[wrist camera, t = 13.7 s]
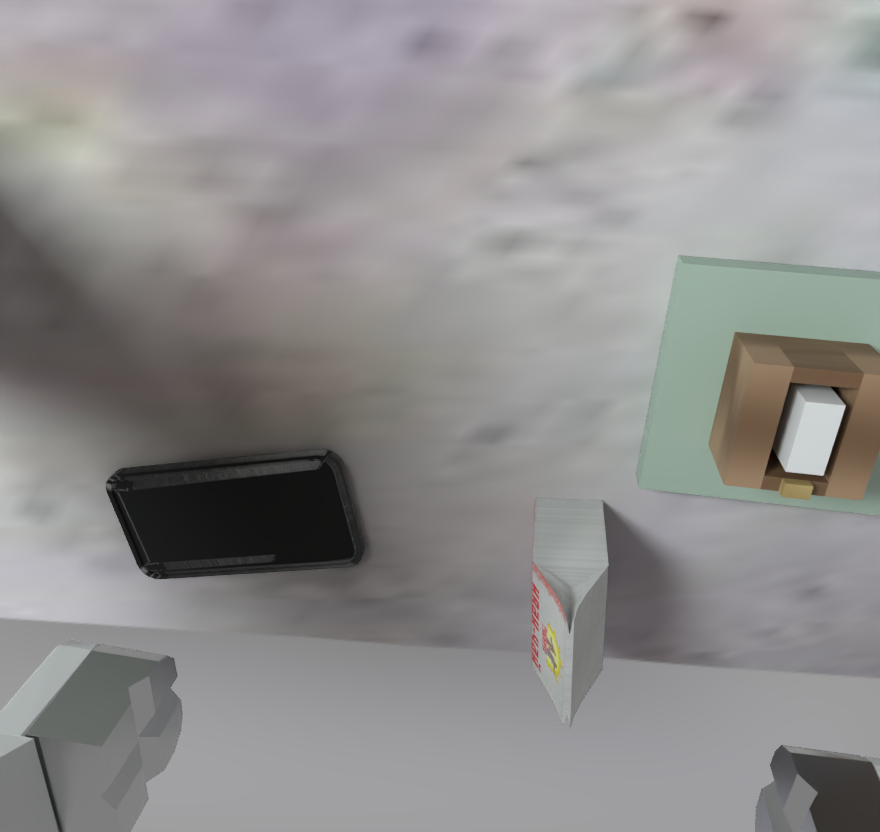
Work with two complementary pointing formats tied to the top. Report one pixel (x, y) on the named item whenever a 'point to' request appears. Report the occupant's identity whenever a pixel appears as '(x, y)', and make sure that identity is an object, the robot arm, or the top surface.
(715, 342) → the base
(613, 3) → the top surface
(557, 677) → the white boxy piece
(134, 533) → the phone
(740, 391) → the open wooden frame
